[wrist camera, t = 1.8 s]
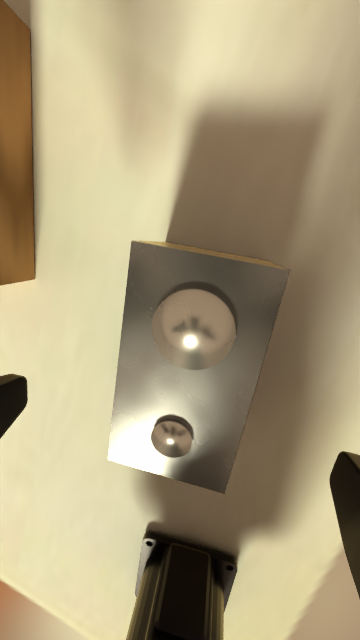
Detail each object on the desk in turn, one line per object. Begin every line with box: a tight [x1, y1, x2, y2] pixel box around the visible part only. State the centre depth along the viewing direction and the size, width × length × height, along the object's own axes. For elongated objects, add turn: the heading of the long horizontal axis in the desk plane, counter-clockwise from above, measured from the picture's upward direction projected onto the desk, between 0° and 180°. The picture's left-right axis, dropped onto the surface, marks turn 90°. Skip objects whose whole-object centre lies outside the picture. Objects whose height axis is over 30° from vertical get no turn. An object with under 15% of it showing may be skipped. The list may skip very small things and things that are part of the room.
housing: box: [107, 241, 290, 494], centre depth 12 cm, size 9×5×5 cm, turn 171°
